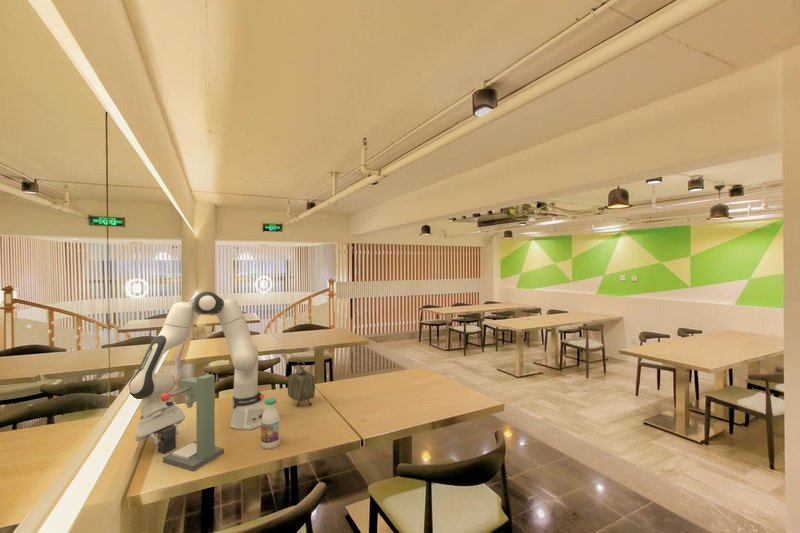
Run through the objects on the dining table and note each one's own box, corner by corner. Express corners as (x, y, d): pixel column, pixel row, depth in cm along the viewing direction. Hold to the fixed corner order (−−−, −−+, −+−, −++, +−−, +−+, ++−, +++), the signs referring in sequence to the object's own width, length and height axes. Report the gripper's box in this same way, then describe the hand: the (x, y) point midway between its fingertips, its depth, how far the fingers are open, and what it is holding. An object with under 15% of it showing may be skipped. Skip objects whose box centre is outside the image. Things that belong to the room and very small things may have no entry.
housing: (169, 446, 151) (169, 425, 151) (175, 448, 150) (175, 427, 150) (157, 452, 147) (157, 431, 147) (164, 454, 145) (164, 432, 145)
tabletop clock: (315, 405, 196) (314, 361, 196) (301, 410, 189) (300, 364, 189) (300, 399, 205) (300, 357, 205) (286, 404, 198) (286, 360, 198)
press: (143, 472, 132) (143, 383, 132) (195, 445, 152) (194, 368, 152) (174, 482, 126) (174, 388, 126) (224, 453, 146) (223, 372, 146)
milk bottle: (264, 441, 156) (264, 396, 156) (281, 440, 156) (281, 395, 156) (258, 450, 148) (258, 403, 148) (277, 449, 149) (277, 402, 149)
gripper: (129, 417, 141) (145, 446, 138) (178, 399, 160) (193, 424, 157) (122, 426, 143) (138, 455, 139) (171, 408, 162) (186, 432, 158)
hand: (167, 438), depth 148 cm, fingers open, 6 cm apart
